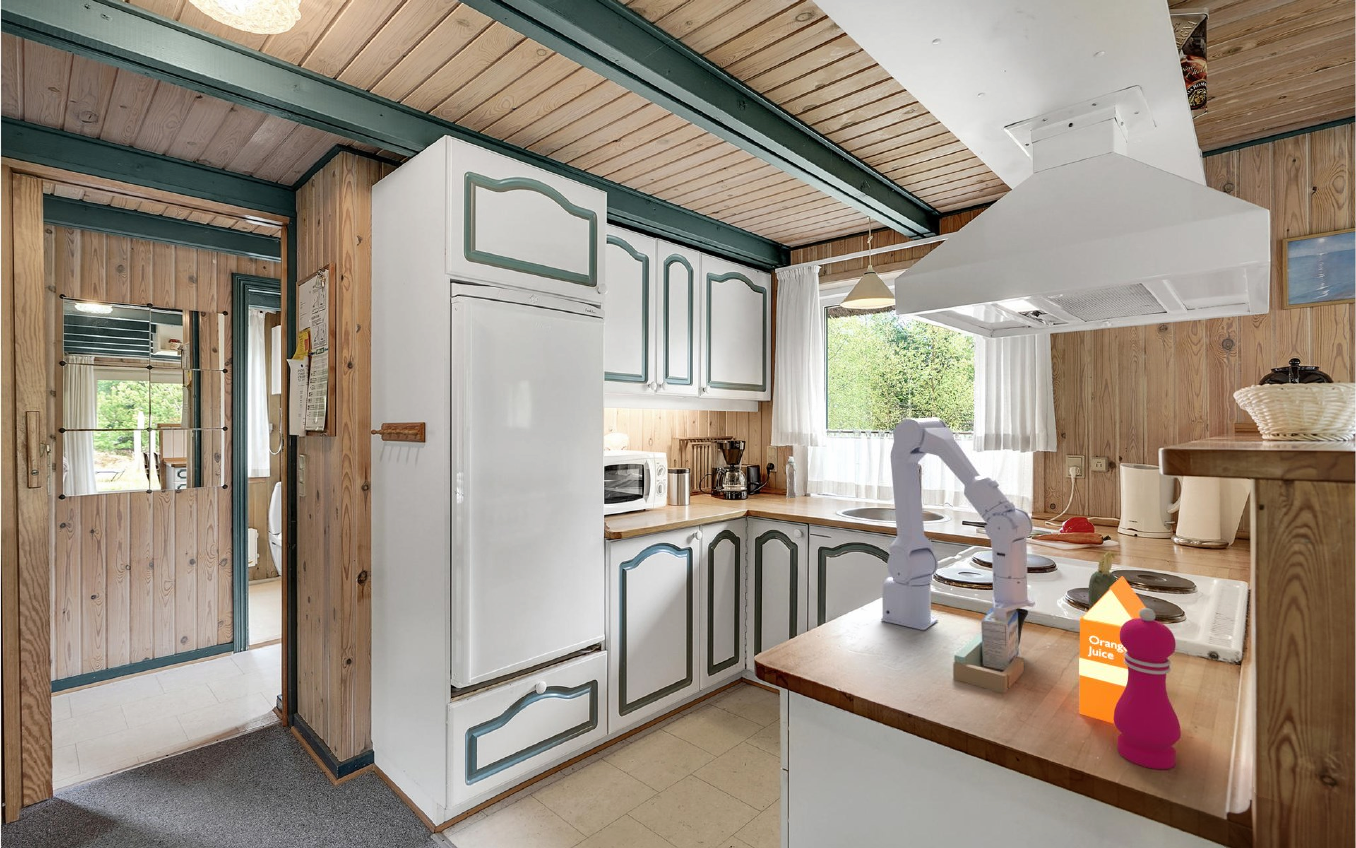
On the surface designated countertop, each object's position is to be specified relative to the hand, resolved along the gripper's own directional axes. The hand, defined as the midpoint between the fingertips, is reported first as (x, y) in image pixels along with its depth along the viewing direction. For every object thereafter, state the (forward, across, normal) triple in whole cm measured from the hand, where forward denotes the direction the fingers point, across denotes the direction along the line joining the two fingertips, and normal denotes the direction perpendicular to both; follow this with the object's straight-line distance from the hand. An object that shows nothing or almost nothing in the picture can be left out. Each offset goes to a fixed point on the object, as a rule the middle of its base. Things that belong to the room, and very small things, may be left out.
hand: (1011, 647), depth 119 cm
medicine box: (+1, -5, 0) cm, 5 cm away
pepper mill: (+2, -26, -23) cm, 34 cm away
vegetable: (+2, +8, -13) cm, 16 cm away
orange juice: (+2, -14, -18) cm, 23 cm away
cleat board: (+1, -7, +1) cm, 7 cm away
